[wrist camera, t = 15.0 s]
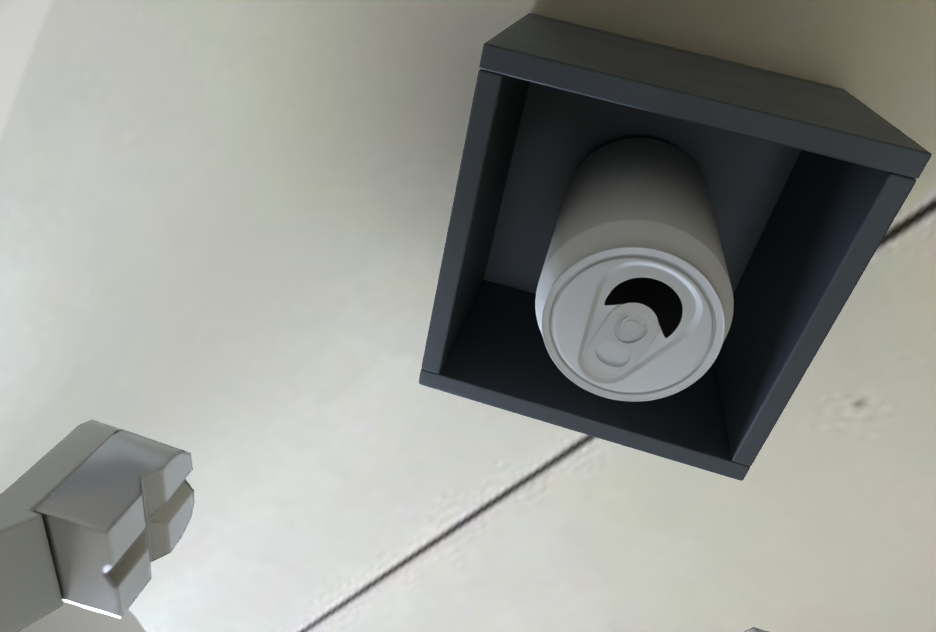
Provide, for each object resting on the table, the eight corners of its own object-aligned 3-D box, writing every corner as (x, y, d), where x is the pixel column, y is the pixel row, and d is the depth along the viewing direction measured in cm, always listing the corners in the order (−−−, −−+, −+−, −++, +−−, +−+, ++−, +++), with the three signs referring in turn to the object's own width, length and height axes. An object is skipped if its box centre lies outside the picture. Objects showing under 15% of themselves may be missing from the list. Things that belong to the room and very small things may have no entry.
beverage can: (736, 175, 29) (786, 301, 19) (654, 286, 33) (660, 442, 23) (610, 106, 29) (594, 197, 19) (541, 225, 32) (496, 355, 22)
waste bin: (529, 12, 29) (483, 42, 20) (844, 89, 27) (933, 154, 19) (469, 281, 36) (417, 384, 28) (718, 351, 35) (742, 482, 26)
